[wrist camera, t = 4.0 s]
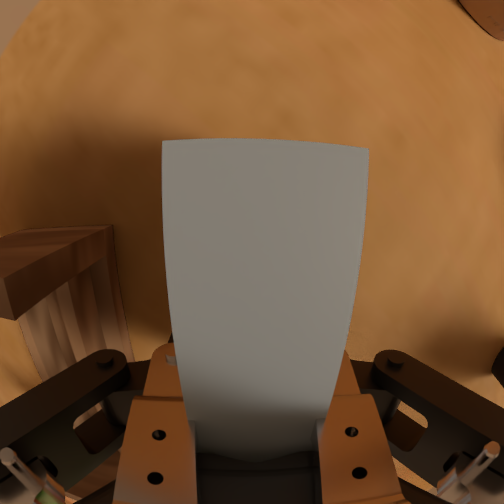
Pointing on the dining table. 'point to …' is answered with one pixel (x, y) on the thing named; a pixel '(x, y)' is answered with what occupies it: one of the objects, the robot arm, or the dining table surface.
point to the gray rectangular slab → (260, 284)
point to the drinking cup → (499, 368)
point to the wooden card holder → (66, 308)
